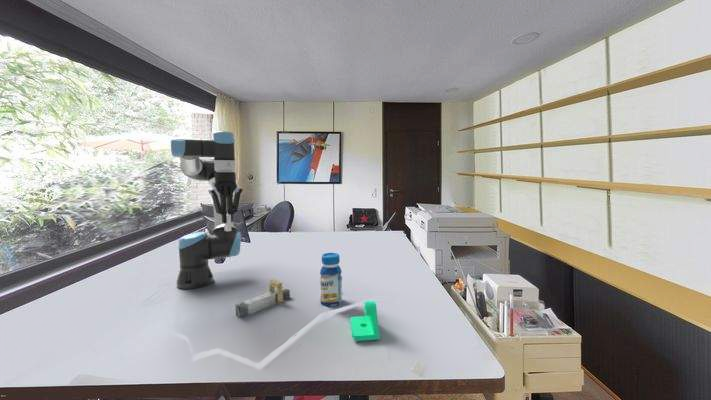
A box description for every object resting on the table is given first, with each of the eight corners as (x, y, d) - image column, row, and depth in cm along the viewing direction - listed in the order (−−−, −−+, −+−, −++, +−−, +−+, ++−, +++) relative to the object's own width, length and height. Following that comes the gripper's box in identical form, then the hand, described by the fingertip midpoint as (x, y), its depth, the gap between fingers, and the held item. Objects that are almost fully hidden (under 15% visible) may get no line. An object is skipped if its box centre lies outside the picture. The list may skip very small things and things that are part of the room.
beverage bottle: (346, 304, 114) (346, 254, 112) (330, 312, 108) (329, 259, 106) (332, 298, 120) (331, 250, 118) (315, 305, 114) (314, 255, 112)
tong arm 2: (280, 299, 116) (280, 290, 116) (283, 300, 115) (282, 290, 115) (238, 316, 102) (237, 305, 102) (240, 318, 101) (239, 306, 101)
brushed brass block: (269, 300, 116) (269, 280, 115) (274, 298, 117) (273, 279, 116) (278, 304, 112) (277, 284, 111) (282, 302, 113) (282, 282, 113)
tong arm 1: (278, 298, 117) (277, 288, 117) (280, 299, 116) (280, 289, 116) (235, 315, 103) (235, 304, 103) (238, 316, 102) (237, 305, 102)
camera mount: (350, 324, 100) (349, 294, 99) (372, 322, 101) (372, 293, 100) (353, 344, 88) (353, 311, 87) (378, 342, 89) (378, 310, 88)
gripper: (212, 171, 108) (216, 234, 110) (245, 171, 118) (247, 229, 120) (203, 171, 113) (207, 232, 115) (236, 171, 123) (238, 227, 125)
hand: (228, 230), depth 118 cm, fingers closed
